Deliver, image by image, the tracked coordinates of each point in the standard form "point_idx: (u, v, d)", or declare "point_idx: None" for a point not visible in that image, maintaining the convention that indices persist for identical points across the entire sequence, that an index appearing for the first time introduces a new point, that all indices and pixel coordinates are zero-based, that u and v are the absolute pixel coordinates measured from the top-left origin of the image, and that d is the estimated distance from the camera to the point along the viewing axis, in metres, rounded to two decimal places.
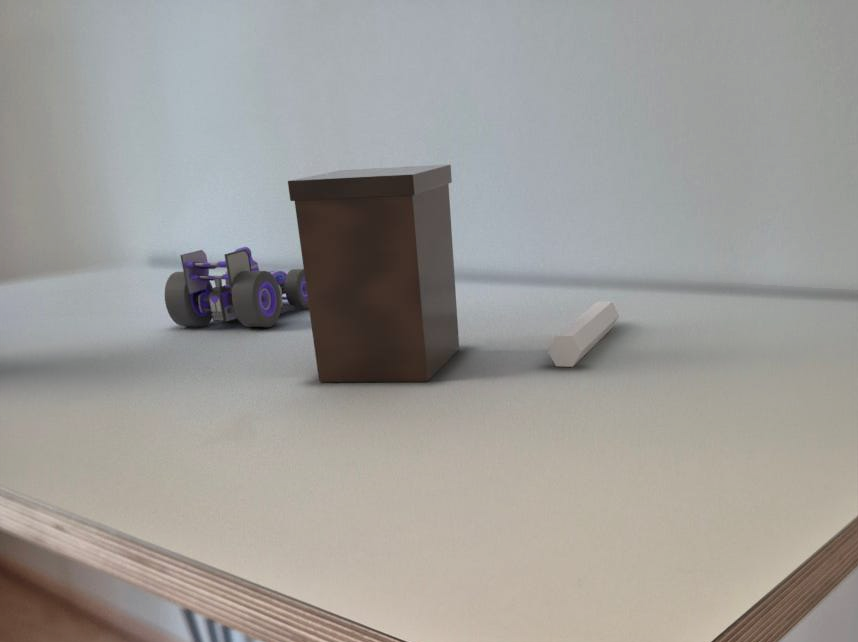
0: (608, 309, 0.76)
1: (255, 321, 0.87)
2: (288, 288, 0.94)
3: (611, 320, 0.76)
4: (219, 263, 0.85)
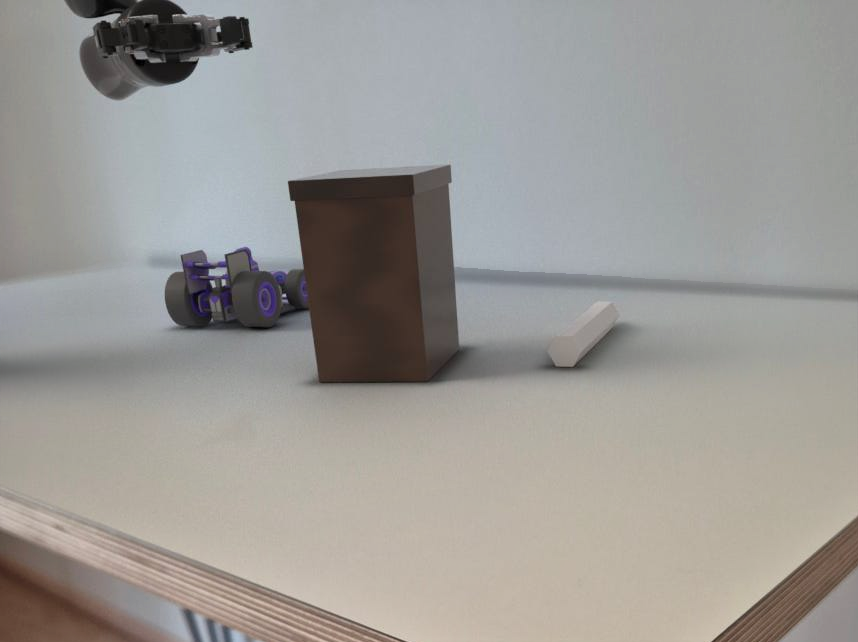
0: (608, 309, 0.76)
1: (255, 321, 0.87)
2: (288, 288, 0.94)
3: (611, 320, 0.76)
4: (219, 263, 0.85)
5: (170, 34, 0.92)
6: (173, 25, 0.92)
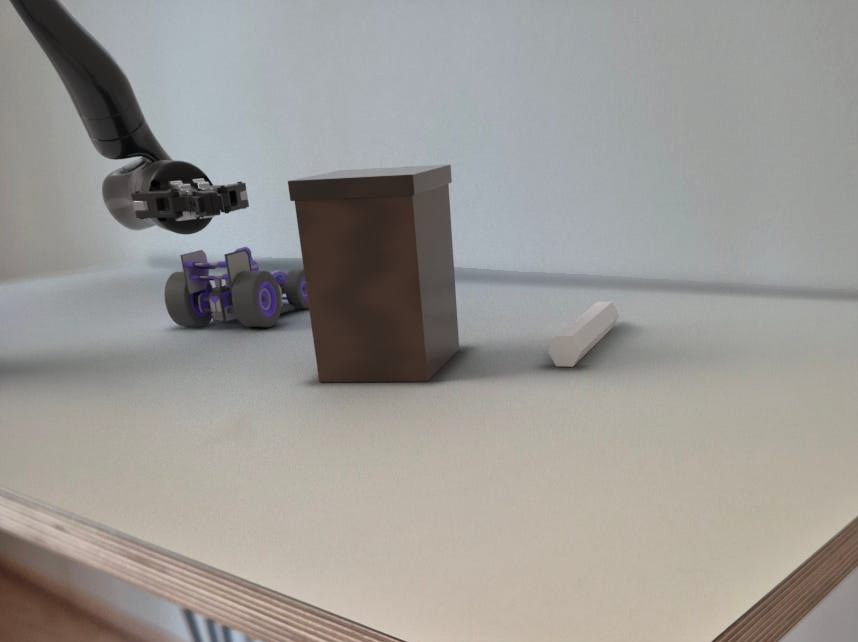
0: (608, 309, 0.76)
1: (255, 321, 0.87)
2: (288, 288, 0.94)
3: (611, 320, 0.76)
4: (219, 263, 0.85)
5: None
6: None
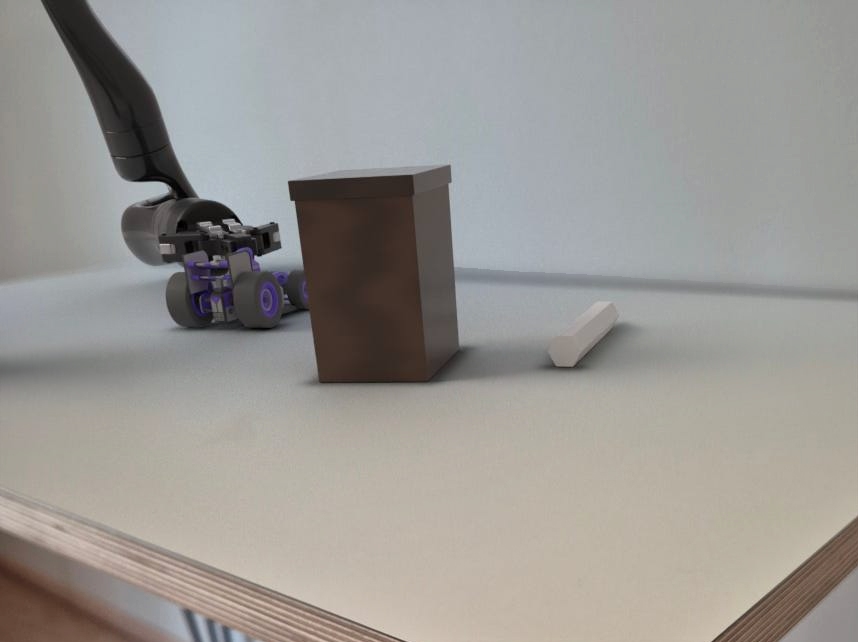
0: (608, 309, 0.76)
1: (256, 322, 0.86)
2: (290, 289, 0.93)
3: (611, 320, 0.76)
4: (220, 263, 0.85)
5: None
6: None
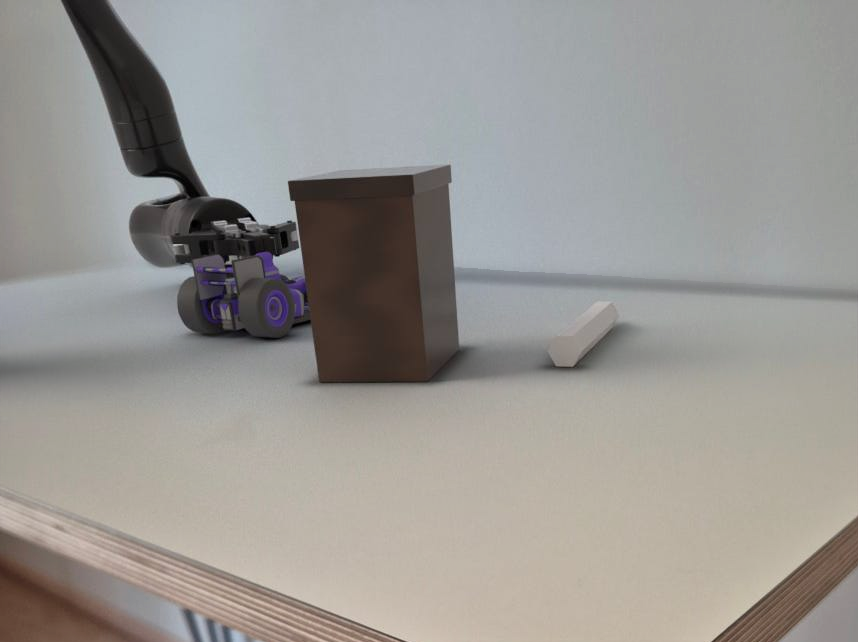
0: (608, 309, 0.76)
1: (261, 331, 0.82)
2: None
3: (611, 320, 0.76)
4: (227, 269, 0.81)
5: None
6: None
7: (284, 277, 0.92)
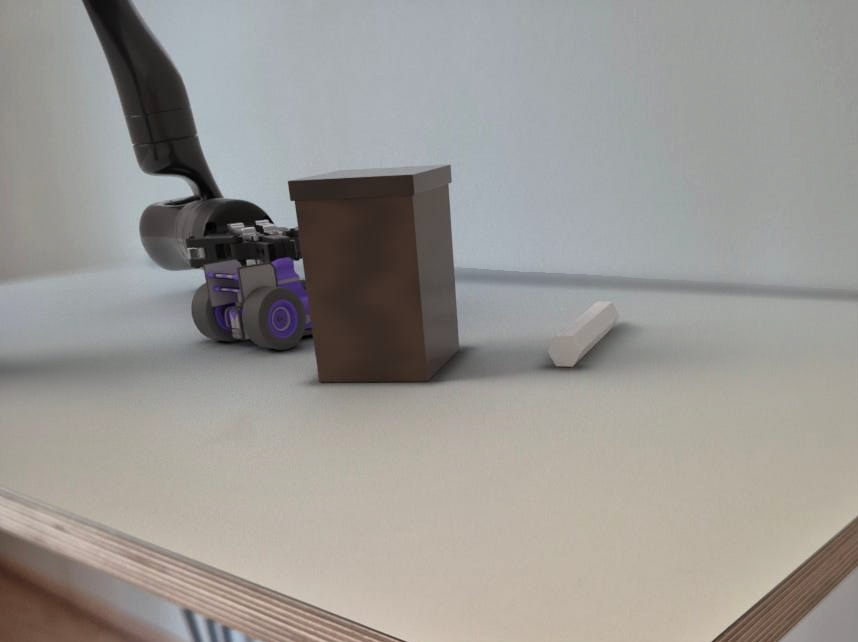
0: (608, 309, 0.76)
1: (264, 343, 0.78)
2: None
3: (611, 320, 0.76)
4: (233, 276, 0.77)
5: None
6: None
7: None
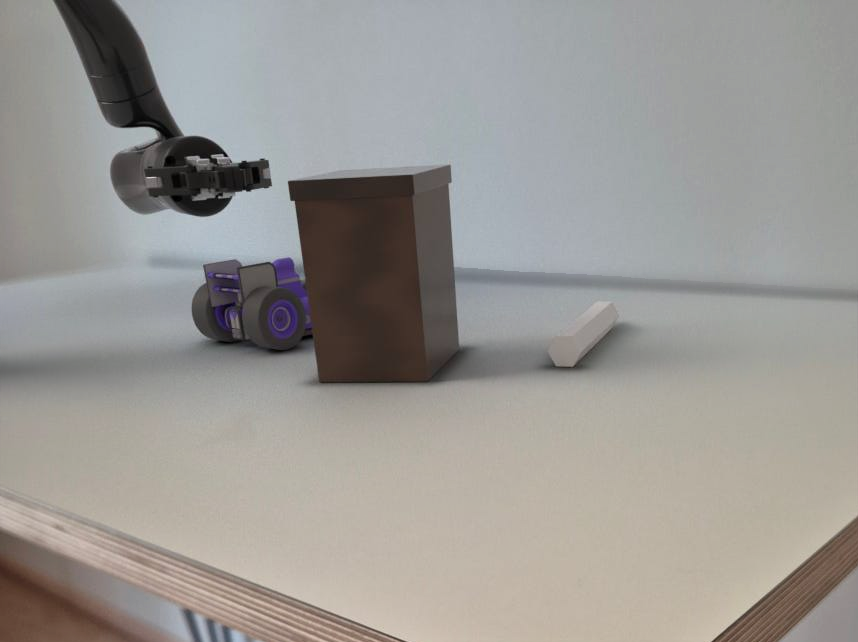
0: (608, 309, 0.76)
1: (264, 343, 0.78)
2: None
3: (611, 320, 0.76)
4: (233, 276, 0.77)
5: None
6: None
7: None
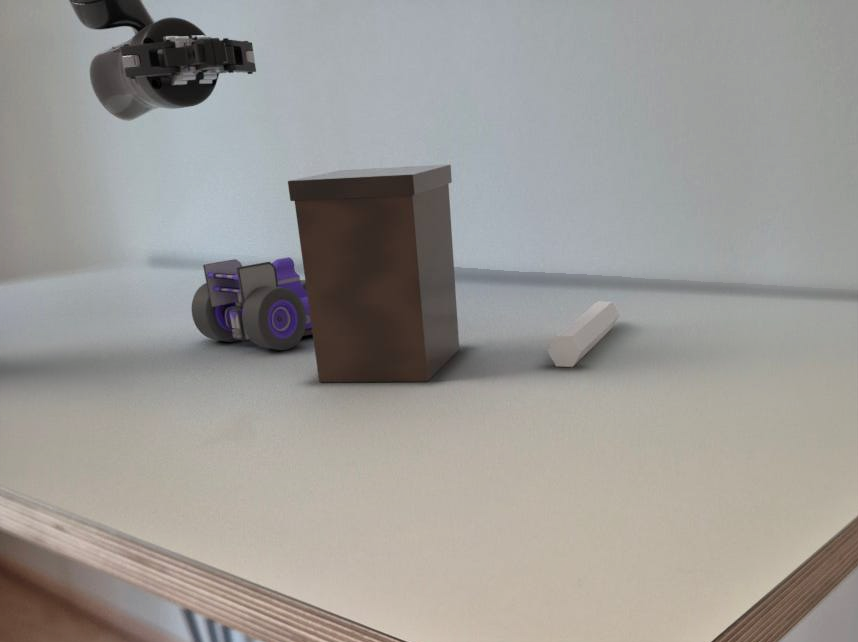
0: (608, 309, 0.76)
1: (264, 343, 0.78)
2: None
3: (611, 320, 0.76)
4: (233, 276, 0.77)
5: None
6: None
7: None
